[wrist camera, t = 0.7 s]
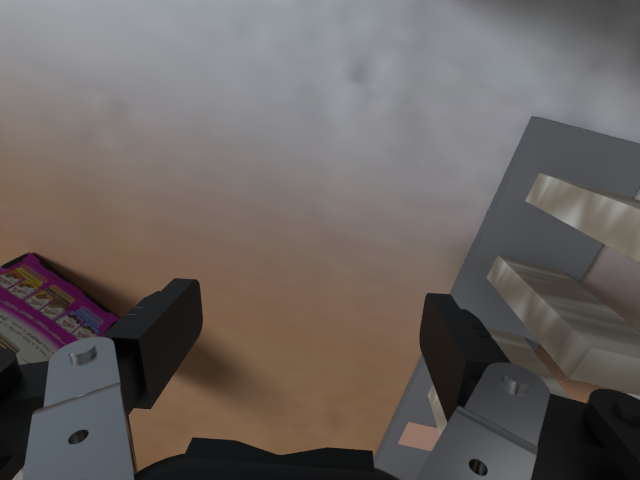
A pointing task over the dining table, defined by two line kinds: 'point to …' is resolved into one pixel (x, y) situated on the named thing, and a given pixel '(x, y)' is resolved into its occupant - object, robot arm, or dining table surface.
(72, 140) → the dining table surface
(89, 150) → the dining table surface
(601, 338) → the ivory domino
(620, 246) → the ivory domino
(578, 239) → the domino board
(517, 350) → the ivory domino
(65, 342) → the candy bar box
